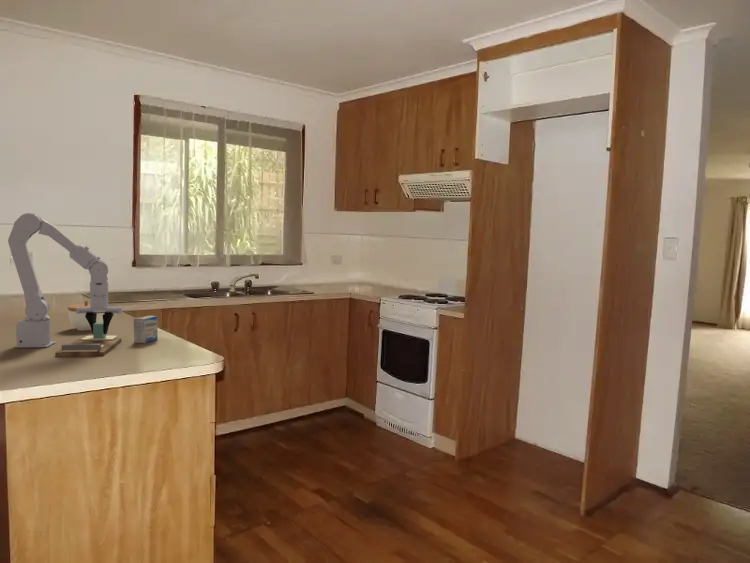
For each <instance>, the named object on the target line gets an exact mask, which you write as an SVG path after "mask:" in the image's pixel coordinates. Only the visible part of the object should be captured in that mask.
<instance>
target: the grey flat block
mask: <svg viewBox="0 0 750 563" xmlns="http://www.w3.org/2000/svg"><path fill="white" fill-rule="evenodd" d="M104 346H105V344H71V343H63V344H62V345H61V349H62V350H63V352H95V351H99V350H100V349H101V348H103V347H104Z"/></svg>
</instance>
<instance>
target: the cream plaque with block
mask: <svg viewBox="0 0 750 563" xmlns="http://www.w3.org/2000/svg"><path fill="white" fill-rule="evenodd" d="M103 328H104V324H103V321H102V322H96V323H95V324H93V334H92V335H86V336H84V337H82V338H80V339H81V340H113V339H115V338H118V335H107V334H104V332H103Z"/></svg>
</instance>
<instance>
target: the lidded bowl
mask: <svg viewBox="0 0 750 563" xmlns="http://www.w3.org/2000/svg"><path fill="white" fill-rule="evenodd" d="M78 307H90V303H89V301H88V300H85V301H84V303H79V304H78V303H77V304H70V305H69V306H67V310H68V319H69V322H70V323H71V326H72V327H74V328H75V329H76V331H92V330H91V327H90V324H89V322H88V321H87V319H86V318H85V315H86V313H80V314H76V308H78ZM93 312H105V311H93ZM103 314H105V313H97V316H96V322H103V316H102V315H103Z"/></svg>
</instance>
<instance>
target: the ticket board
mask: <svg viewBox="0 0 750 563" xmlns="http://www.w3.org/2000/svg"><path fill="white" fill-rule="evenodd" d="M81 339H82V338H77V339H75V341H72V342H71V343H70V344H105V346H104V347H103V348H101V349H100V350H99V351H95V352H63V350H62V348H60V349H59V350H58V351H55V353H54V355H55V357H104V356H105V355H107V354H108V353H109V352H110V351H112V350H113V349H114V348H115V347H116V346H118V345H119V344H120V343H122V337H121V338H118V337H116V338H115V339H113V340H81Z"/></svg>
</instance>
